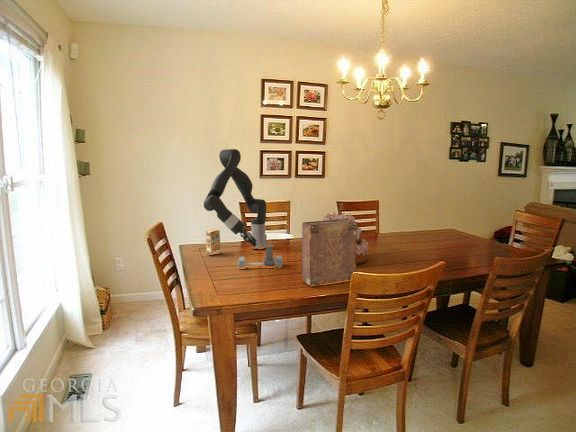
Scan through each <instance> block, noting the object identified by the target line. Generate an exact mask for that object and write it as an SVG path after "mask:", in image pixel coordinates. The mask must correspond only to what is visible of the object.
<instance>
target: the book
mask: <svg viewBox="0 0 576 432" xmlns="http://www.w3.org/2000/svg"><path fill="white" fill-rule="evenodd" d="M357 227H358V222H357V221H355V222H350V221H347V219H338V220H326V221H323V220H316V221H304V222H302V223H301V236H302V238H301V240H302V241H301V255H302V256H301V257H302V258H301V281H302V280H303V281H304V282H305V283H307V284H308V285H310V286H313V285H320V284H326V283H333V282H338V281H344V280H350V279H351V275H352V273H353V272H356V273H357V267H356V243H357ZM305 283H304V284H305ZM308 285H307V286H308Z"/></svg>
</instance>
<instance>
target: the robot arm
mask: <svg viewBox="0 0 576 432" xmlns="http://www.w3.org/2000/svg"><path fill="white" fill-rule="evenodd" d="M241 155H242V154H241V153H240V151H239V150H238V149H236V148H230V149H229V148H228V149H226V148H225V149H222V150H220V152H219V155H218V157H219V161H220V164H221V165H222V167H223V168H224V169H222V171H220V173H219V174H218V175H216V177H215V178H214V180H213V182H212V184H211V186H210V189H209V192H208V194H207V195H206V197H205V199H204V201H203V208H204V209H205V210H206V211H208V212H212V211H215V213H216V217H217V218H218V219H219V220H220V221H221V222H222V223H223V224H224V225H225V226H226V228H228V230H230V231H231V232H232V233H233V234H234V235H237V234H239V233H240V237H241V238H242V239H244V241H246V243H248V244H250V245H251V246H252V247H256V248H259V247H265V246H266V245H268V244H267V243H268V241H267V240H268V239H267V237H268V236H267V234H266V219H267V202H266V200H265V199H263V198H261V199H260V198H255V197H254V196H253V194H252V192H253V182H252V181H251V178H250V176H249V175H248V174H247V173H246V172H244V171H243V170H241V169H240V168H239V167H238V166H239V164H240V162H241V160H242V159H241V158H242V156H241ZM230 179H232V180H233V182H234V184H235V186H236V188H237V189H238V191H239V192H240V194H241V196H242V198H243V200H244V202H245V204H246V207H247V209H248V210H249V212H250V213H253V214H257V215H256V217H252V218H251V220H250V224H251V225H250V228H251V229H250V231H249V230H247V228H245V226H246V224H245V223H244V222H243V221H242V220H241V219H240V218H239V217H238V216H236V215H235V214H234V213H233V212H232V211H230V209H228V208H227V206H226V204H225V203H224V202H223V200H222V199H221V196H222V195H224V192H225V189H226V187H227V184H228V182H229V180H230ZM252 247H251V248H252Z"/></svg>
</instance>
